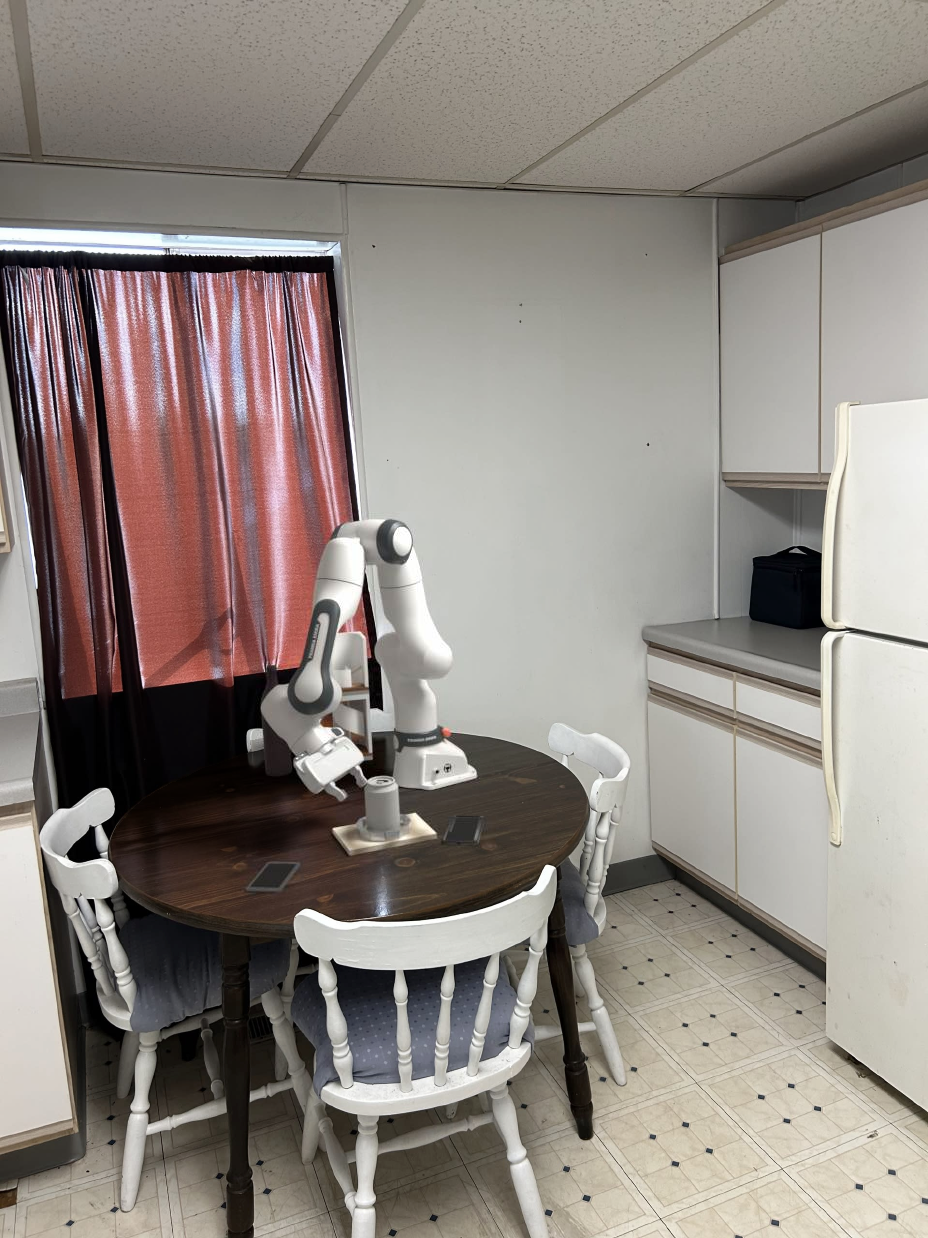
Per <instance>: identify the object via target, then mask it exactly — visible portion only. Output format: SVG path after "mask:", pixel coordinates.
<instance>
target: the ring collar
mask: <svg viewBox="0 0 928 1238" xmlns="http://www.w3.org/2000/svg"><path fill="white" fill-rule="evenodd" d="M399 814H400V824H402V825H403V826H401V827H399V828H397V829H393V830H388V831H371V830H368V829H364V828H365V827H367V824H366V815H365V816H363V817H361V818H358V820H357V822H356V823H355V824H356V834H357V835H358V836H359V837H360V838H361V839H365V840H368V841H383V842H385V841H391V840H396V839H400V838H402V837H404V836H406V835H408V834H409V833H410V831H411V819H410V818H409V817H408V816H407V815H406V814H403V813H400V812H399Z"/></svg>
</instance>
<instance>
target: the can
mask: <svg viewBox="0 0 928 1238" xmlns="http://www.w3.org/2000/svg"><path fill="white" fill-rule="evenodd" d="M364 786H365V787H364V788H363V789H364V803H365V805H364V806H365V816H366V824H367V829H368V830H371V831H388V830H393V829H397V828H399V827H400V814H401V813H400V797H399V796H400V795H399V786H398V785H397V784H396V783H395V779H394V778H392V776H388V775H380V776H379V775H378V776H374V777H373V776H372V777H370V778H369V779H367V783H366V784H365V785H364ZM399 813H400V814H399Z"/></svg>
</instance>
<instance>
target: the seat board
mask: <svg viewBox="0 0 928 1238" xmlns="http://www.w3.org/2000/svg"><path fill="white" fill-rule="evenodd" d="M405 815H407V816H408V817H409V818H410V819H411V831H410V833H409V834H408V835H406V836H404V837H402V838H400V839H396V840H391V841H385V842H383V841H368V840H365V839H361V838H360V837H359V836H358V835H357V834H356V823H355V824H354V823H353V824H348V825H344V826H338V827H333V828H332V834H333V836H334V837H335V838H336V840H337V841H338V842H339V843H340V845H341V846H342V848H343V849H344V851H346V852H347V854H348V855H349V856H356V855H357V856H358V855H360V854H366V853H367V854H368V853H372V852H376V851H381V850H386V849H391V848H397V847H401V846H405V845H406V846H407V845H410V844H417V843H421V842H425V841H426V842H427V841H431V840H436V839H438V836H437V835H438V833H437V832H436V831H435V830H434V829H433V828H432V827H430V825H429V824H428V823H427V822H425V821H424V820H423V819H422V818H421V817H420V816H419V815H418V813H416V812H413V813H406V814H405ZM401 826H403V825H402V824H400V827H401ZM364 829H367V827H365V828H364Z"/></svg>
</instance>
